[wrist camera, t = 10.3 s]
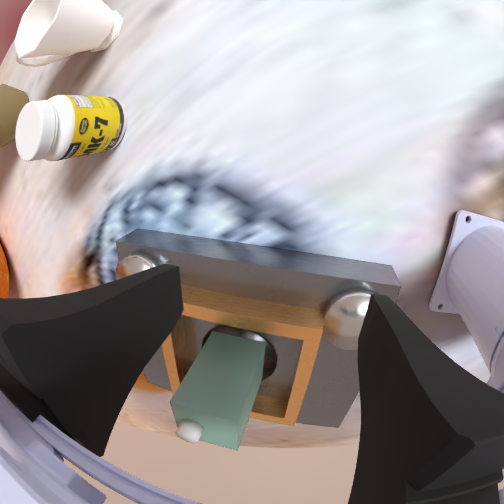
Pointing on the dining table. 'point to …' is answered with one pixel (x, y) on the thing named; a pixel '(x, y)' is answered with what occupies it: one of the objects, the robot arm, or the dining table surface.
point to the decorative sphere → (3, 275)
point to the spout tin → (219, 391)
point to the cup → (64, 30)
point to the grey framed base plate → (266, 317)
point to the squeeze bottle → (10, 111)
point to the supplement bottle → (69, 127)
